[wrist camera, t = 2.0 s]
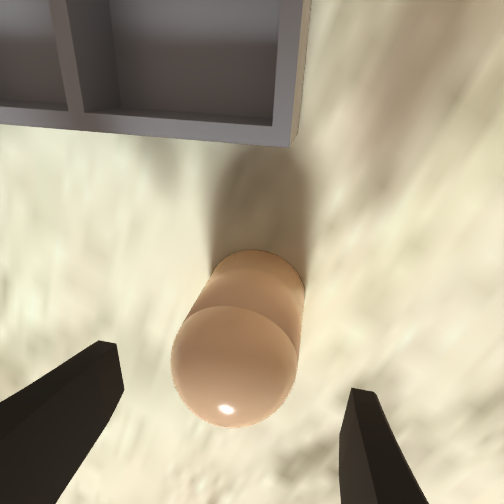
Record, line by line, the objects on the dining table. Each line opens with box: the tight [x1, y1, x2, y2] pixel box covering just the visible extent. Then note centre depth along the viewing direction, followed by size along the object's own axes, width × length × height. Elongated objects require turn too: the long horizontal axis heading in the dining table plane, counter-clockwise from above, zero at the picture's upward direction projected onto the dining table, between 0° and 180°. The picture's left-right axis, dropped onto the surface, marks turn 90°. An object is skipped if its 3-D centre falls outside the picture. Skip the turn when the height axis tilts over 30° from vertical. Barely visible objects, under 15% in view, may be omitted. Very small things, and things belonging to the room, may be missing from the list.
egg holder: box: [0, 0, 311, 148], centre depth 10 cm, size 18×6×3 cm, turn 87°
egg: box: [171, 250, 305, 428], centre depth 12 cm, size 4×4×6 cm
